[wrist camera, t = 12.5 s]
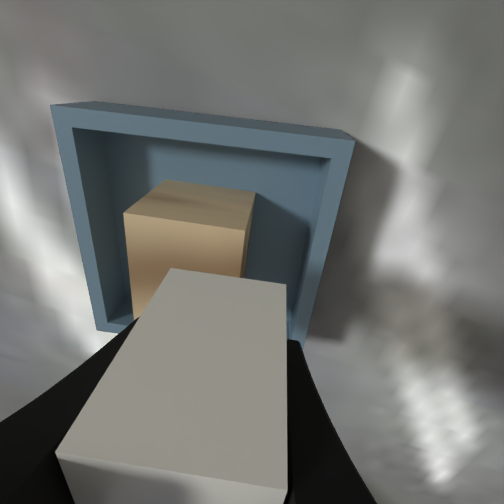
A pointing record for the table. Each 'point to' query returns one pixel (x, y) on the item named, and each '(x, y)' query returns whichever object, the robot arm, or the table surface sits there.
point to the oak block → (186, 234)
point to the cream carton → (189, 401)
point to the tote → (206, 173)
